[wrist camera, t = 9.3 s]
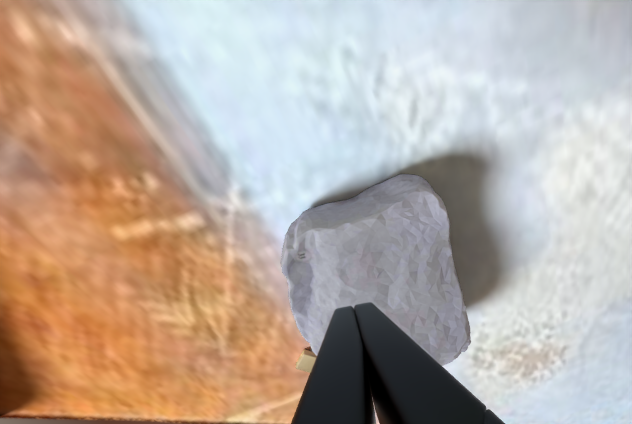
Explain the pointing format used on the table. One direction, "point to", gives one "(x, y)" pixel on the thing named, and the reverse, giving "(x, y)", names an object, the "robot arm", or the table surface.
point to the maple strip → (306, 361)
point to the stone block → (379, 265)
